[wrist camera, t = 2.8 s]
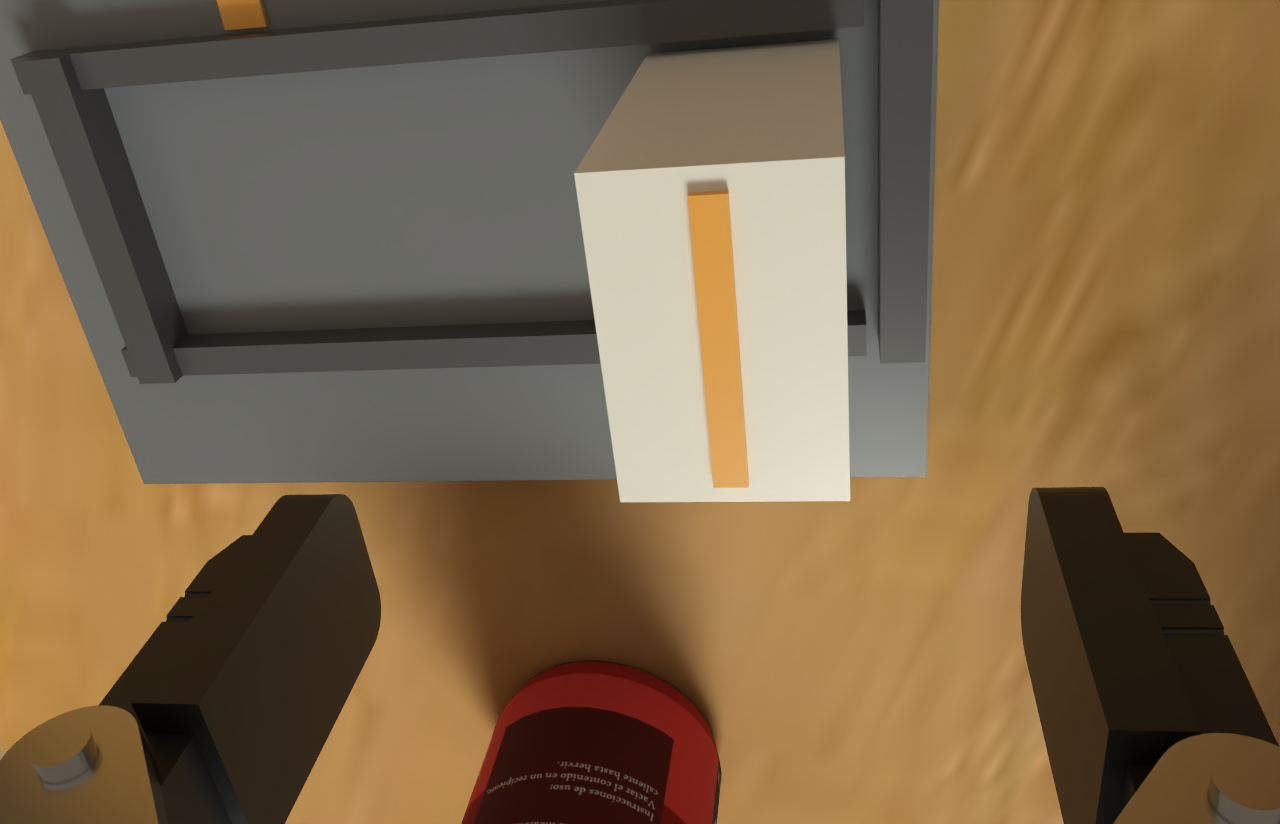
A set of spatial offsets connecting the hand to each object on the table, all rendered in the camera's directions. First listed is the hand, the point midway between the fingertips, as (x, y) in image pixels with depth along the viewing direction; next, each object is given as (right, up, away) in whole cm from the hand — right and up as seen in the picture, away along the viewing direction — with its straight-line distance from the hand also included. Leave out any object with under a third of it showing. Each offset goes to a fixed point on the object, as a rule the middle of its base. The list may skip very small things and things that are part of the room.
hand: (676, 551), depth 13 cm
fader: (+2, +7, +11) cm, 13 cm away
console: (-5, +8, +15) cm, 17 cm away
